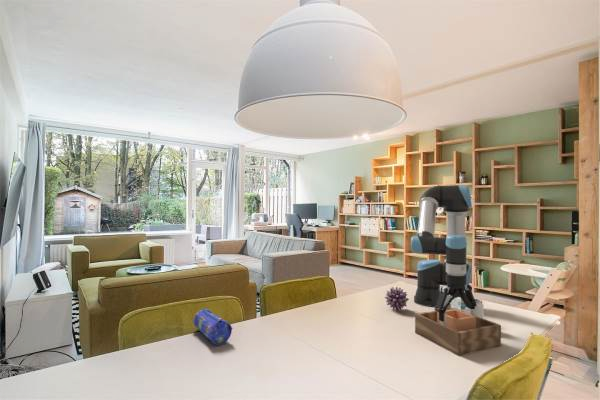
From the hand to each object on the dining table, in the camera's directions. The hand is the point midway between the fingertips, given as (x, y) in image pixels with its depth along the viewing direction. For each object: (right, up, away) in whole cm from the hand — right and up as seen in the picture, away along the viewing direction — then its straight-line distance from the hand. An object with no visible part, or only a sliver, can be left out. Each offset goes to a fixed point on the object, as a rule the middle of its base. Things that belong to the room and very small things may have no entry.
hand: (455, 326), depth 130 cm
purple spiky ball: (-13, -6, +35) cm, 38 cm away
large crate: (0, -5, 0) cm, 5 cm away
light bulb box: (+15, -6, +24) cm, 29 cm away
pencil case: (-99, -5, +1) cm, 99 cm away
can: (+14, -6, +12) cm, 20 cm away
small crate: (0, -4, 0) cm, 4 cm away
